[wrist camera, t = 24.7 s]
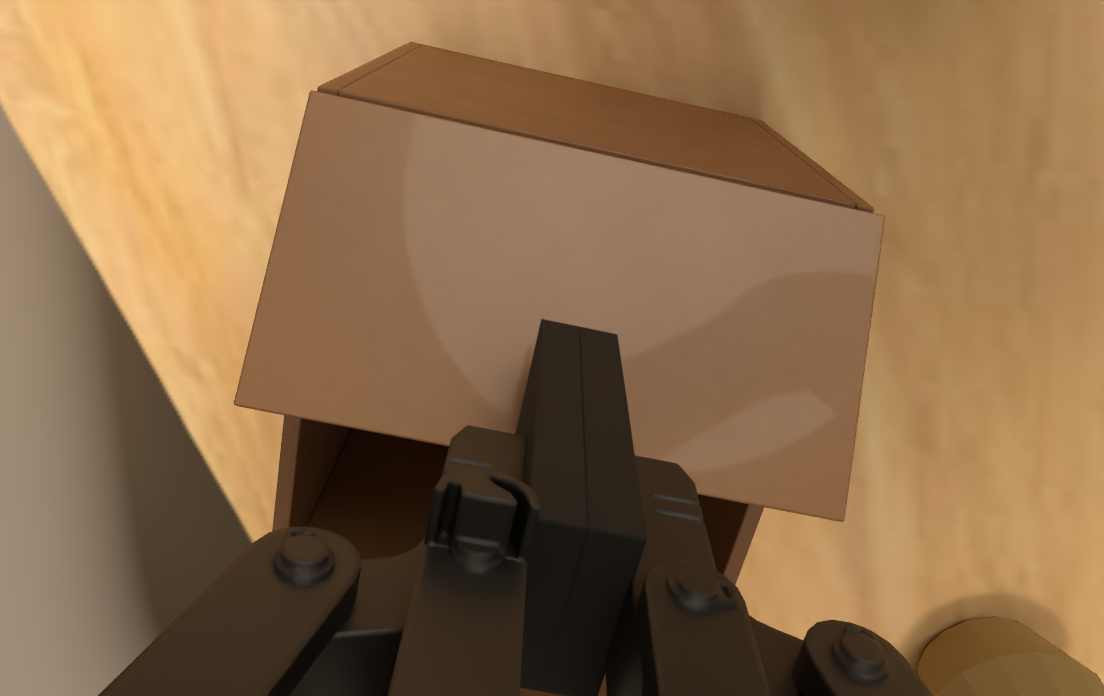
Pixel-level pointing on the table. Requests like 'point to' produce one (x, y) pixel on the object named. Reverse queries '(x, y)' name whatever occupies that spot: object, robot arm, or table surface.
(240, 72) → the table surface
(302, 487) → the carton
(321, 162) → the flap
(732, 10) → the table surface
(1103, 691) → the squeeze bottle
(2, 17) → the table surface
